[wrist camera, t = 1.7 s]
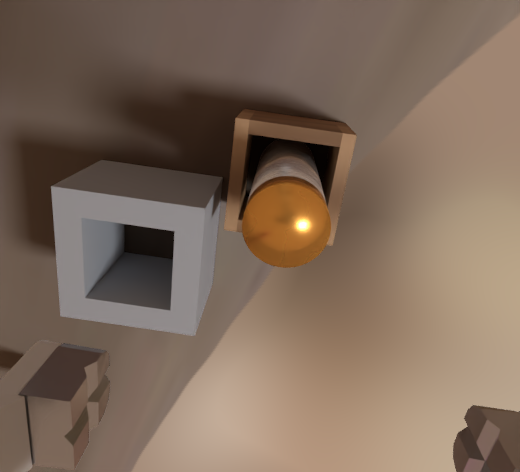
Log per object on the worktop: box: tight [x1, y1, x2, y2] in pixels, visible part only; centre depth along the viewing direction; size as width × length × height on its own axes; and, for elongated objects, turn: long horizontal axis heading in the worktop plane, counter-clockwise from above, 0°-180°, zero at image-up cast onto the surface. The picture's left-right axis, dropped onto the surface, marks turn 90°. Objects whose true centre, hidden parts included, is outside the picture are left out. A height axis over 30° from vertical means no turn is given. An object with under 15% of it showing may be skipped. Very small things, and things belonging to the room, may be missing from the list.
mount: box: [224, 109, 357, 245], centre depth 27 cm, size 7×7×5 cm
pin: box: [242, 139, 331, 268], centre depth 24 cm, size 4×4×12 cm
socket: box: [51, 160, 223, 336], centre depth 29 cm, size 9×9×7 cm
